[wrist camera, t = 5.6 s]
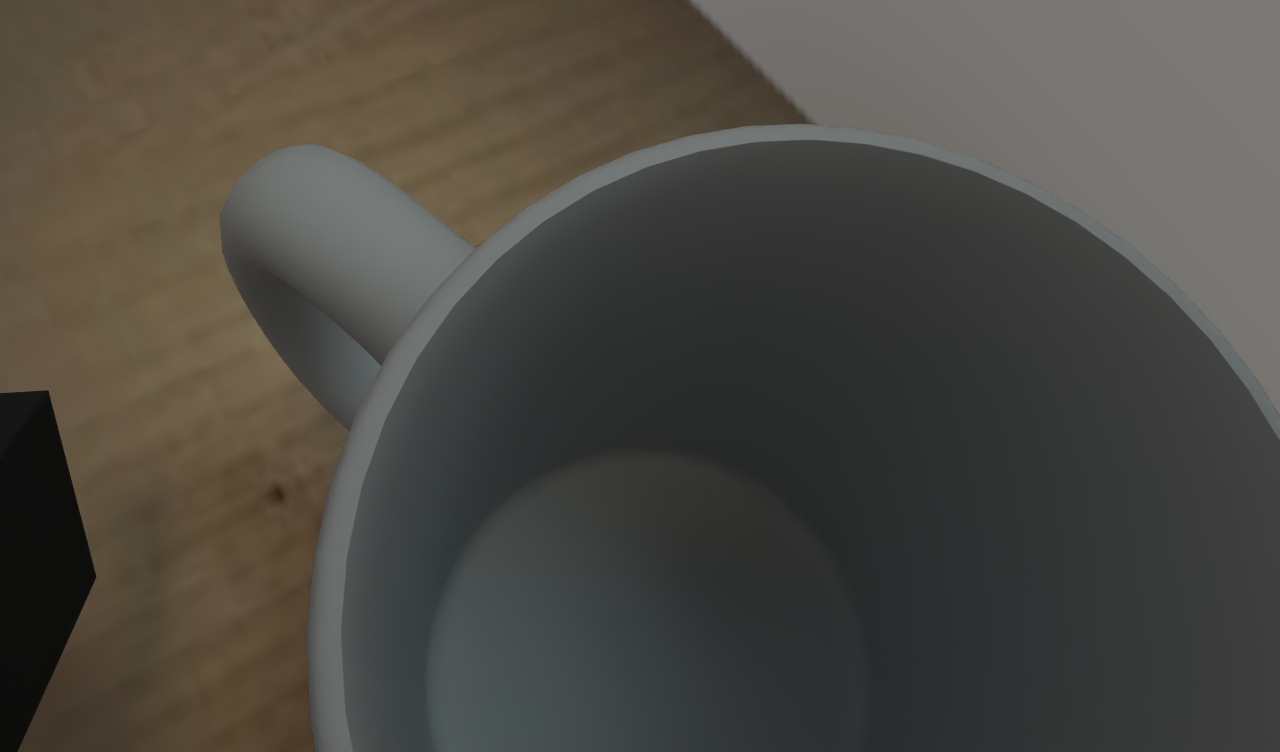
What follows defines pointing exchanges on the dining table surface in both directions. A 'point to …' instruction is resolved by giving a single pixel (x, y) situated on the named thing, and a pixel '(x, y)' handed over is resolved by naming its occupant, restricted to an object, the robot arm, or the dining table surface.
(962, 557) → the mug
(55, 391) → the dining table surface
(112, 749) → the dining table surface
